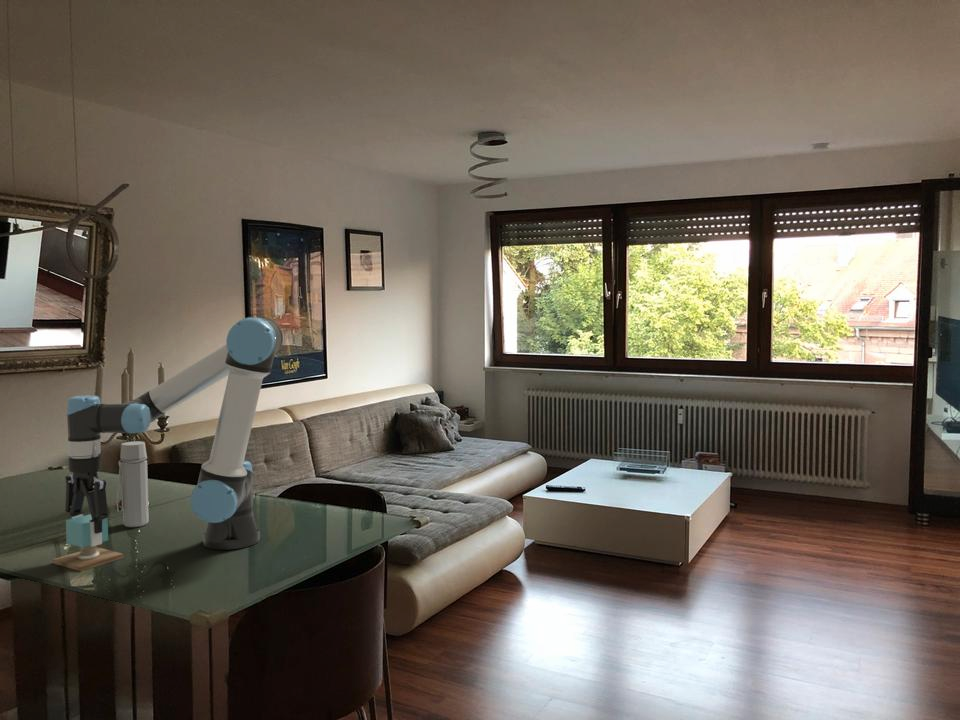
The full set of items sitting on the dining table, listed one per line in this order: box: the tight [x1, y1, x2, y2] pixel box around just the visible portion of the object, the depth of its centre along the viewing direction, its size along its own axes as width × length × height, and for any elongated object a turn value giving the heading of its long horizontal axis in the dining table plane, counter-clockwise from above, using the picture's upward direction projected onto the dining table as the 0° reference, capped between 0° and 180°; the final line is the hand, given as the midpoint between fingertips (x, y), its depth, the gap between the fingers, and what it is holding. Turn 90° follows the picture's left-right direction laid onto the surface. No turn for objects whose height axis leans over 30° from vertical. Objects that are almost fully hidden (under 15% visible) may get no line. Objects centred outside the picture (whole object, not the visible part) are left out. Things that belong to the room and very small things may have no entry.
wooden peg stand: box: [51, 545, 125, 572], centre depth 199 cm, size 12×12×10 cm
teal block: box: [65, 513, 109, 548], centre depth 198 cm, size 7×7×6 cm
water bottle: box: [115, 440, 150, 528], centre depth 230 cm, size 9×8×25 cm
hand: (87, 542), depth 199 cm, fingers closed on teal block, 7 cm apart
